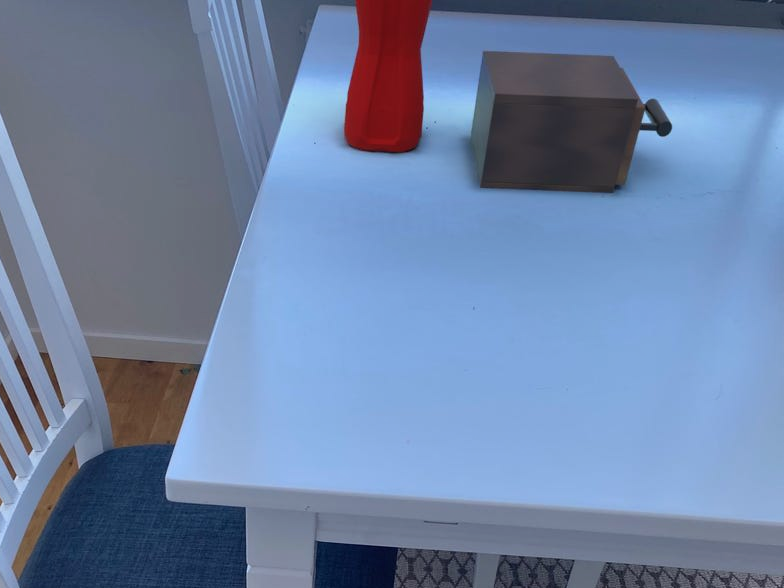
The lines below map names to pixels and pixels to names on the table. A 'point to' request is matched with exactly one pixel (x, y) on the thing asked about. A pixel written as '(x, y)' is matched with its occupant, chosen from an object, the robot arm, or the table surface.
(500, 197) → the table surface
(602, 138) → the cabinet
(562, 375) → the table surface
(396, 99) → the red bottle
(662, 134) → the drawer
